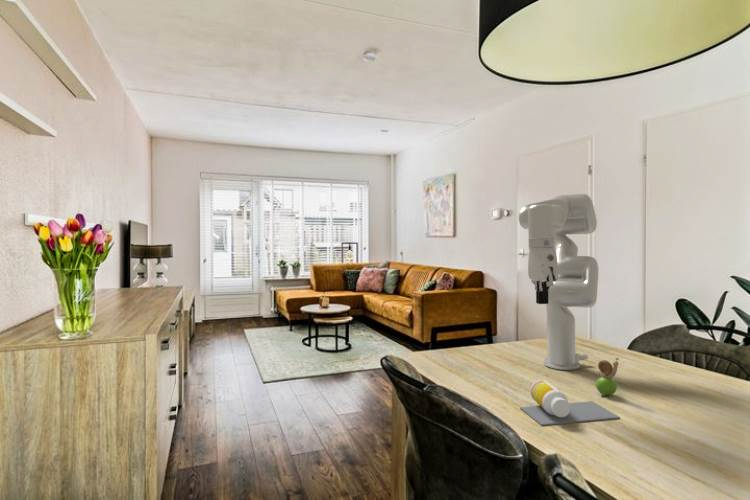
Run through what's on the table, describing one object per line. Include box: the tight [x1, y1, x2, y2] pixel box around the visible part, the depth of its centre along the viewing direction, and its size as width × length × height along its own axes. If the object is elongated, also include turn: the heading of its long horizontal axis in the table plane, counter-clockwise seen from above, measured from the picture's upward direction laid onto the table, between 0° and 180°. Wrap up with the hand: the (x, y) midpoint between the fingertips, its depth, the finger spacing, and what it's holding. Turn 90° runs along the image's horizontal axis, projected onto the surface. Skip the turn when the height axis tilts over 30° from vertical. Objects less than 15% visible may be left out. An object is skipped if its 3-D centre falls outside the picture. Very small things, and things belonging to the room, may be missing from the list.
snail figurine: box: [595, 357, 619, 397], centre depth 125 cm, size 5×6×12 cm
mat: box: [519, 400, 621, 427], centre depth 113 cm, size 22×11×1 cm, turn 98°
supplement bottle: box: [530, 379, 570, 417], centre depth 114 cm, size 7×7×13 cm
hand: (542, 303), depth 130 cm, fingers closed
